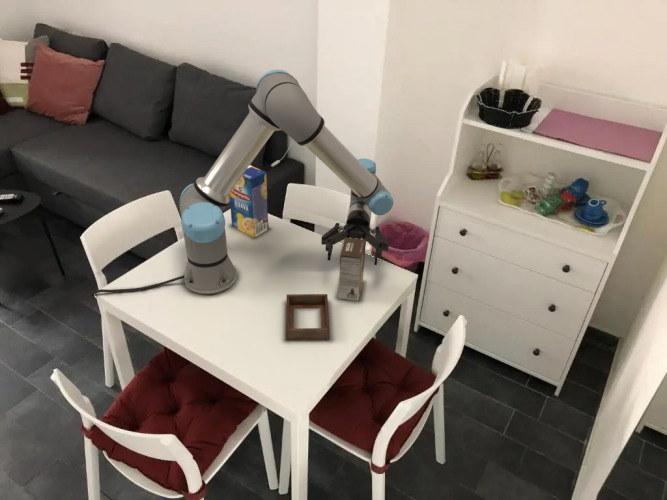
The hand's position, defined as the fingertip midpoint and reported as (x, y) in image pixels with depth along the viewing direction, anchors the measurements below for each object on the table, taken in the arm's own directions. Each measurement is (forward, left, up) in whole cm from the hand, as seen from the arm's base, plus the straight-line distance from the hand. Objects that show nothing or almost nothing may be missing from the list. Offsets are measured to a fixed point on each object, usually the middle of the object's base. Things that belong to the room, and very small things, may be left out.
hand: (352, 259), depth 156 cm
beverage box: (-32, +33, -11) cm, 48 cm away
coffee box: (0, -1, -11) cm, 11 cm away
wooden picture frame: (-13, -14, -11) cm, 22 cm away
